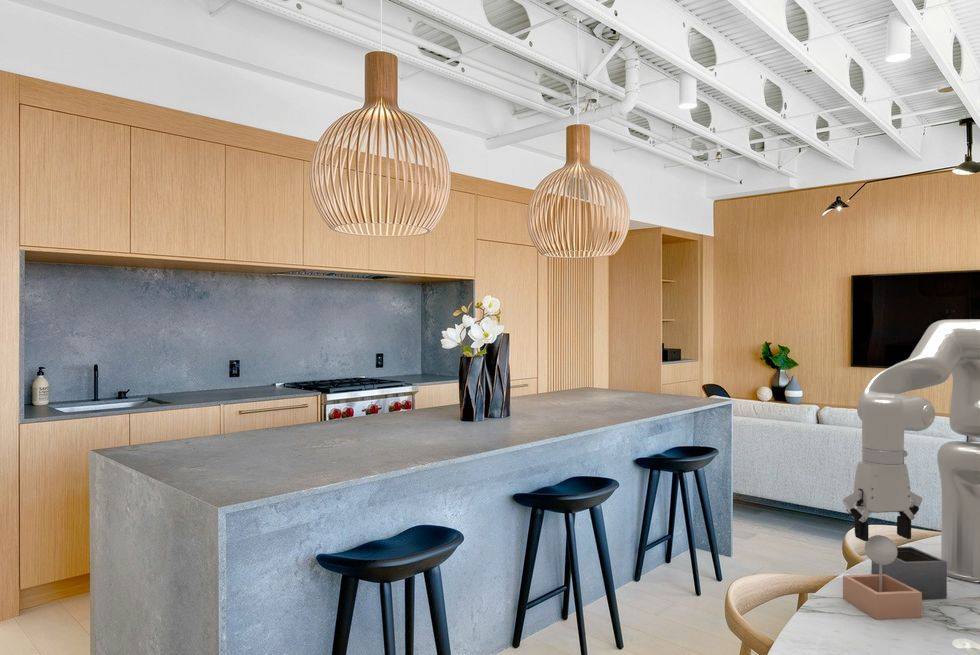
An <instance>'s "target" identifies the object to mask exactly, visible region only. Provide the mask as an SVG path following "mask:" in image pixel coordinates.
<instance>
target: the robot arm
mask: <svg viewBox="0 0 980 655" xmlns="http://www.w3.org/2000/svg"><path fill="white" fill-rule="evenodd" d="M950 376H952V388H951V396H950V397H951V398H950V407H949V426H950V428H951V431H953V432H954V433H955V434H958V435H960V436H965V437H970V438H978V439H980V319H978V318H977V319H975V318H974V319H973V318H971V319H970V318H969V319H968V318H967V319H961V318H960V319H958V318H957V319H956V318H955V319H941V320H937V321H935V322H933V323H931V324H930V325H929V326H928V327H927V329H926V330H925V331H924V333H923V335H922V337H921V339H920V340H919V341H918V343H917V344H916V346H915V347H914V349H913V350H912V352H911V354H910V356H909V357H908V358H907V359H905V360H903V361H900V362H898V363H895V364H894V365H892V366H889V367H888V368H886V369H884V370H882V371H880V372H879V373H877V374H876V375H874V377H872V378H871V379H870V380H869V382H868V383H867V385H866V386H865V388H864V389H863V391H862V393H861V394H860V397H859V399H858V401H857V405H856V410H857V417H858V418H859V419H860V420H861V461H858V462H857V465H856V469H855V476H854V483H853V484H854V486H853V493H851V494H850V495H847V496H846V497H845V498H843V499H842V502H843V504H844V507H845V508H846V512H847V513H848V514H849V515H850V516H851V518H852V519H854V535H855V536H854V537H855V538H857V539H858V540H860V541H862V542H866V541H868V540H869V538H870V537H869V535H870V534H869V522H868V521H867V520H868V518H869V517H870V515H871V514H873V513H874V514H875V513H876V514H877V513H878V514H879V513H898V515H897V516H896V535H898V536H899V537H901V538H904V539H907V540H911V539H912V521H913V520H915V516H916V514H917V513H918V512H919V511H920V510H919V509H920V506H921V504H922V502H923V497H922V496H920V495H918V494H916V493H914V492H912V491H911V484H910V483H911V482H910V475H909V471H908V466H907V464H906V463H905V457H906V458H907V457H908V455H909V453H908V452H907V450H905V431H907V432H908V431H909V432H910V431H911V432H920V431H924V430H926V429H928V428H930V427H932V426H931V425H932V424H933V423H934V421H935V418H936V411H935V407H934V405H933V403H931V401H930V400H928V399H927V398H925V397H922V396H918V395H910V394H903V393H906V392H911V391H917V390H923V389H927V388H930V387H934V386H938V385H940V384H943V383H945V382H946V381H948V380H949V378H950ZM936 460H937V465H938V466H937V467H938V470H939V471H938V472H939V475H940V476H939V477H940V485H941V528H940V530H941V533H940V534H941V537H940V538H941V542H940V543H941V546H940V550H941V553H940V559H942V560H944V561H946V562H947V577H949V576H950V577H949V578H953V579H956V578H957V579H956V580H960V579H962V580H961V581H965V580H968V581H967V582H970V581H979V582H980V443H979V442H971V441H961V440H956V441H955V440H953V441H948V442H945V443H943V444H942V445H941V446H940V447H939V449H938V451H937V459H936ZM855 507H856V508H855Z"/></svg>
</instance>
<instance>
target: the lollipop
mask: <svg viewBox="0 0 980 655" xmlns="http://www.w3.org/2000/svg"><path fill="white" fill-rule="evenodd" d="M896 547H897V545H896V543H894V541H893V540H892V539H890V538H889V537H887V536H885V535H881V534H875V535H872V536H870V537H869V540H868V541H865V543H864V552H865V555H866V556H867V558H868V559H869V560H871V562H872V561H873V562H875V563H877V564H879V592H882V565H887V564H890V563H892V562H893V561H894V560H895V559H896V557H897V548H896Z"/></svg>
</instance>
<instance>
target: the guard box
mask: <svg viewBox="0 0 980 655" xmlns="http://www.w3.org/2000/svg"><path fill="white" fill-rule="evenodd" d="M896 548H897V557H896V559H895V560H894V561H893V562H892V563H890V564H887V565H882V574H886V575H888V576H890V577H892V578H894V579H896V580H898V581H900V582H902V583H904V584H906V585H908V586H910V587H912V588H914V589H916V590H918V591H920V592H922V601H923V600H926V601H927V600H944V599H945V600H946V599H947V598H948V596H947V595H948V593H947V592H948V584H947V582H948V576H947V562H946V561H944V560H942V559H941V558H939V557H937V556H934V555H933V554H930V553H928V552H925V551H924V550H921V549H918V548H915V547H913V546H896ZM873 574H879V564H877V563H875V562H873V561H872V560H871V574H870V575H873Z"/></svg>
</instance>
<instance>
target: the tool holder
mask: <svg viewBox="0 0 980 655" xmlns="http://www.w3.org/2000/svg"><path fill="white" fill-rule="evenodd" d="M842 600H844V601H846V602H847V603H849V604H851V605H852V606H854V607H855V608H857V609H859V610H860V611H861V612H864V613H865V614H866V615H868V616H870V617H872V618H873V619H874V620H895V619H919V618H922V617H923V614H922V613H923V607H922V606H923V600H922V592H920V591H918V590H916V589H914V588H912V587H910V586H908V585H906V584H904V583H902V582H900V581H898V580H896V579H894V578H892V577H890V576H888V575H886V574H882V592H879V574H873V575H871V574H850V575H848V574H847V575H844V574H843V575H842Z"/></svg>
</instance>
